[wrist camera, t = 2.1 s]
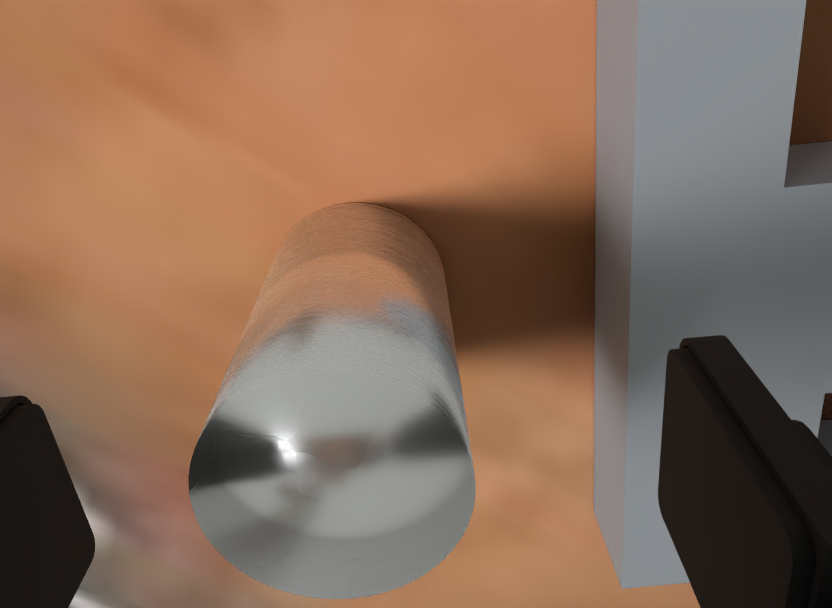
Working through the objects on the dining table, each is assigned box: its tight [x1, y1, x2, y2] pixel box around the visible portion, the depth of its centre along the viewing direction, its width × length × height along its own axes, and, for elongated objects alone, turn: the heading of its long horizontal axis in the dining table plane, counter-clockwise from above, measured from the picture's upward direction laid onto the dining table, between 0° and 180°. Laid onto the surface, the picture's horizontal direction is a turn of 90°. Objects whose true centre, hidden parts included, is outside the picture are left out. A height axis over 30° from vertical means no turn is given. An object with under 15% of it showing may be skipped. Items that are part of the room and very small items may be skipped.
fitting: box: [189, 202, 475, 599], centre depth 15 cm, size 4×4×8 cm
